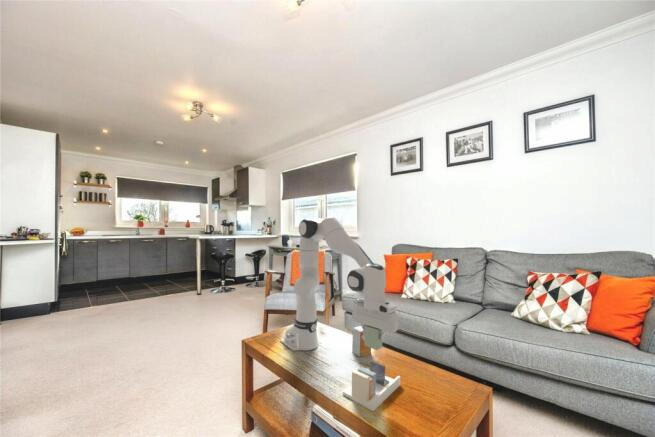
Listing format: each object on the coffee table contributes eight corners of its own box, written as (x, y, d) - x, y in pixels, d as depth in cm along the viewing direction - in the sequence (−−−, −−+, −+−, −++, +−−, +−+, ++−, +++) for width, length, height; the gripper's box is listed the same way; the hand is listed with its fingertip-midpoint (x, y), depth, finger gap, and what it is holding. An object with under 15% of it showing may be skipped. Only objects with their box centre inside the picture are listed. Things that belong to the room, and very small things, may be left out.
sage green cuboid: (364, 345, 110) (365, 326, 110) (369, 342, 113) (370, 323, 113) (377, 350, 106) (377, 330, 106) (382, 347, 109) (382, 327, 109)
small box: (359, 357, 136) (360, 331, 136) (351, 352, 141) (352, 327, 142) (371, 353, 140) (372, 328, 141) (363, 348, 146) (364, 324, 146)
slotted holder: (342, 394, 105) (343, 369, 106) (371, 372, 122) (372, 350, 122) (373, 411, 96) (374, 383, 96) (400, 385, 113) (400, 361, 113)
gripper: (349, 299, 115) (348, 332, 114) (393, 310, 101) (392, 347, 101) (357, 297, 119) (357, 328, 119) (400, 306, 106) (399, 342, 106)
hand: (373, 337), depth 110 cm, fingers closed on sage green cuboid, 6 cm apart
